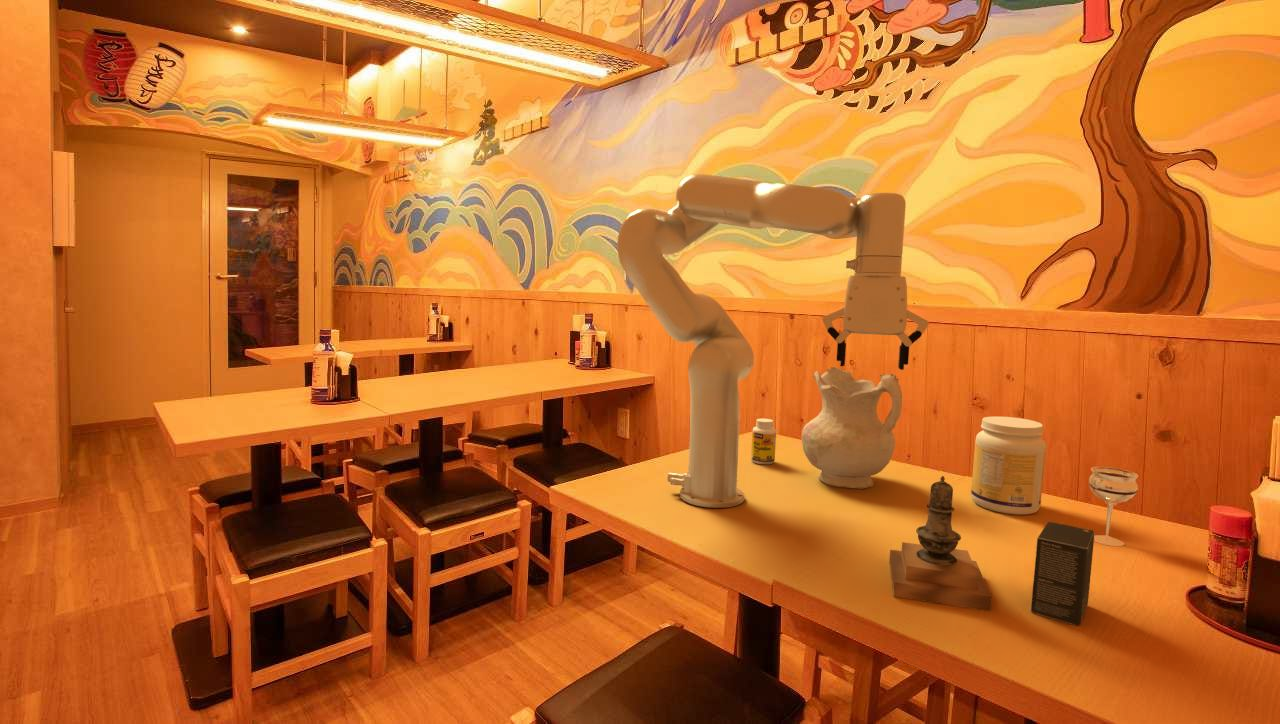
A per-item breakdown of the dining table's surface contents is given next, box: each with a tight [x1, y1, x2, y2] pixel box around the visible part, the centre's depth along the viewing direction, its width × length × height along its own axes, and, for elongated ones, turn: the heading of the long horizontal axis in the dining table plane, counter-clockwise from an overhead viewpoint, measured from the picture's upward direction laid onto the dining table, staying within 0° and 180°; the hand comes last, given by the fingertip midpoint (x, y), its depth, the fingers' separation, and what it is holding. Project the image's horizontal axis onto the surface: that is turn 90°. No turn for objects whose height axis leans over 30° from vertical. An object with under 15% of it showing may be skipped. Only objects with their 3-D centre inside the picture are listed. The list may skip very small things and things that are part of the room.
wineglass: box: [1088, 466, 1139, 547], centre depth 113 cm, size 7×7×12 cm
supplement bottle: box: [750, 418, 777, 466], centre depth 158 cm, size 6×6×10 cm
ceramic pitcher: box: [801, 366, 903, 490], centre depth 143 cm, size 22×20×25 cm
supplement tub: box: [970, 416, 1047, 516], centre depth 130 cm, size 12×12×17 cm
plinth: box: [888, 541, 993, 612], centre depth 95 cm, size 12×12×4 cm
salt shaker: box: [915, 475, 962, 565], centre depth 95 cm, size 6×6×12 cm
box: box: [1030, 521, 1095, 627], centre depth 89 cm, size 8×6×11 cm
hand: (871, 367), depth 116 cm, fingers open, 9 cm apart
